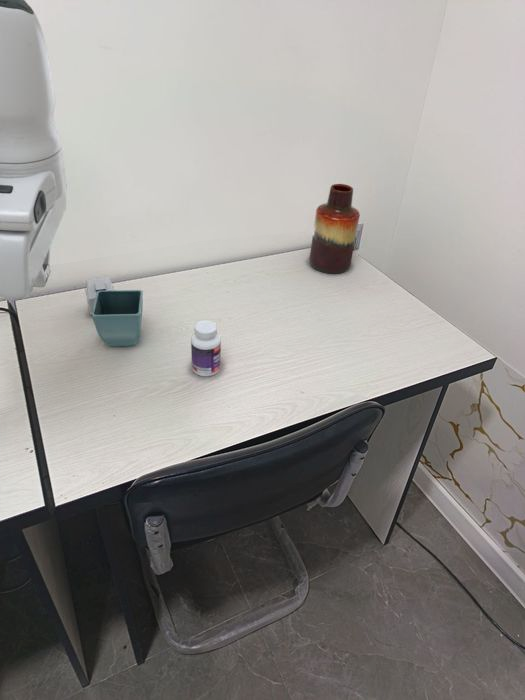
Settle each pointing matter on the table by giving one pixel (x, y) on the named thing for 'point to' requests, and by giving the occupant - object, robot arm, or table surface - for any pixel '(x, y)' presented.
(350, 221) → the vase
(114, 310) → the flower pot
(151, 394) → the table surface
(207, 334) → the pill bottle
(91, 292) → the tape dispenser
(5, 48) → the robot arm
